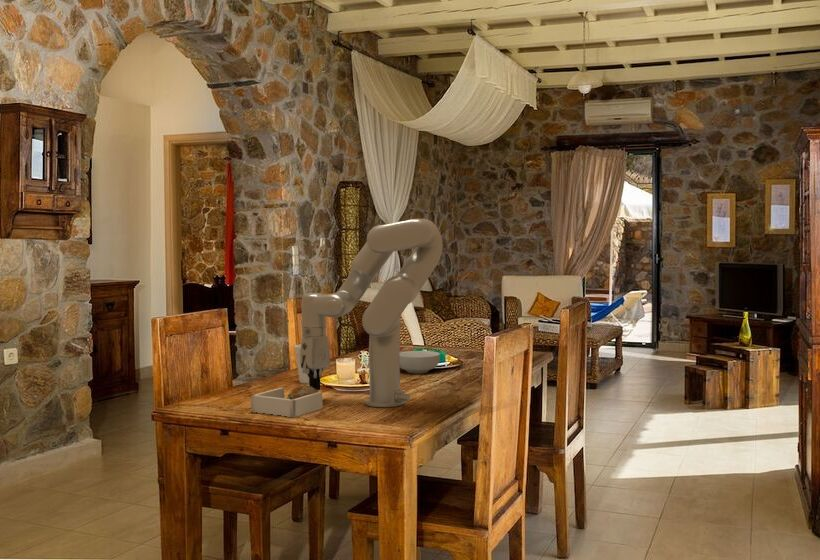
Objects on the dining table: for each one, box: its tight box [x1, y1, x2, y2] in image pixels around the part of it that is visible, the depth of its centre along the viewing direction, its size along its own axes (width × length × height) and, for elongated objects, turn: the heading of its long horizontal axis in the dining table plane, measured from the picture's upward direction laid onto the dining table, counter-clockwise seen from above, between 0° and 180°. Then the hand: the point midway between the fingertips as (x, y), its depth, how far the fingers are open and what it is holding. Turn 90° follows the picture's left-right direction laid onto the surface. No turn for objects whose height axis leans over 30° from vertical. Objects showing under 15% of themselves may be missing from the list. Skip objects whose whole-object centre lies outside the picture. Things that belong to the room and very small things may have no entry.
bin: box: [250, 387, 323, 419], centre depth 253 cm, size 16×14×5 cm
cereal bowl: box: [400, 350, 441, 374], centre depth 317 cm, size 17×17×7 cm
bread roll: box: [286, 384, 319, 400], centre depth 260 cm, size 10×10×8 cm
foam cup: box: [294, 343, 309, 384], centre depth 298 cm, size 10×9×13 cm
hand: (314, 389), depth 265 cm, fingers closed
